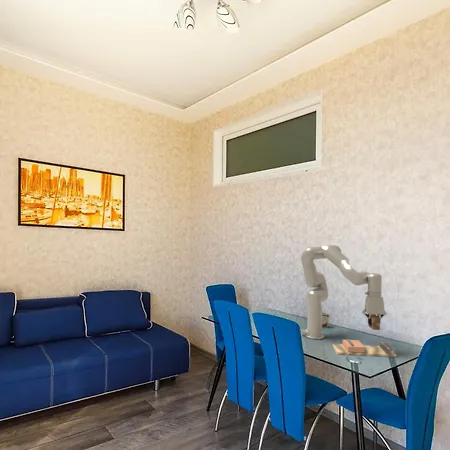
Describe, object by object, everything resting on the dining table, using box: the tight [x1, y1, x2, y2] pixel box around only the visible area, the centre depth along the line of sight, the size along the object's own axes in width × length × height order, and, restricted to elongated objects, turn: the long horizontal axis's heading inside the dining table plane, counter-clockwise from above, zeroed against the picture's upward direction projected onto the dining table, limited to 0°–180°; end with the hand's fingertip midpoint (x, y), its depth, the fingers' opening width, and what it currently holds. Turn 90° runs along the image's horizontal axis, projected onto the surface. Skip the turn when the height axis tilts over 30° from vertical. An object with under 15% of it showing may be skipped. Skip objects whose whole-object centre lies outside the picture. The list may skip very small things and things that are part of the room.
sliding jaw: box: [342, 338, 365, 353], centre depth 205 cm, size 10×12×4 cm
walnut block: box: [367, 314, 381, 331], centre depth 204 cm, size 4×8×7 cm, turn 175°
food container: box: [322, 311, 330, 329], centre depth 253 cm, size 12×6×10 cm, turn 84°
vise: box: [331, 341, 398, 358], centre depth 204 cm, size 33×14×4 cm, turn 85°
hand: (374, 324), depth 204 cm, fingers closed on walnut block, 4 cm apart
